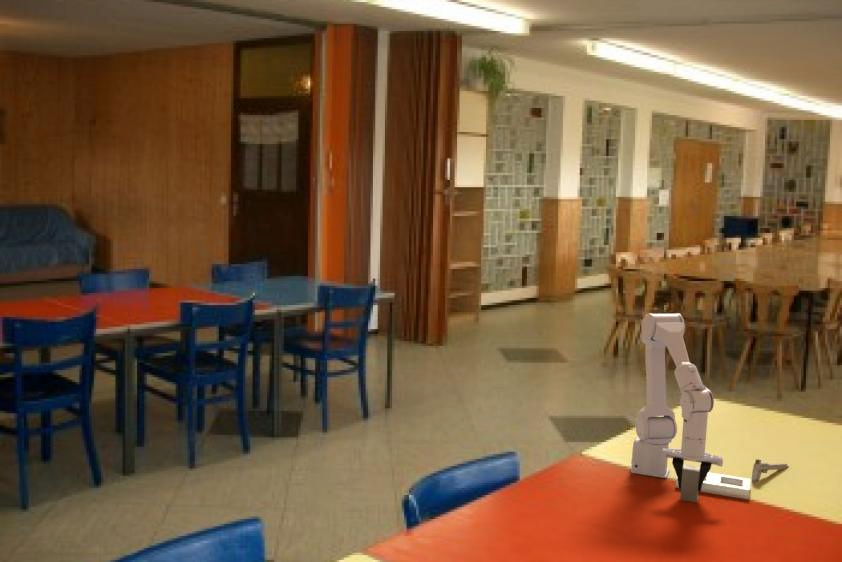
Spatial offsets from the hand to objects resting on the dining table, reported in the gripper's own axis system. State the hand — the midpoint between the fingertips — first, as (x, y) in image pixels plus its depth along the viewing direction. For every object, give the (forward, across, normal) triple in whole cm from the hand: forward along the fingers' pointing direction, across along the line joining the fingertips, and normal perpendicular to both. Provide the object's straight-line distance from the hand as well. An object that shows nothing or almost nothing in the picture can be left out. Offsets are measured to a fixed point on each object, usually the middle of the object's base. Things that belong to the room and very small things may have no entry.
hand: (689, 488), depth 223 cm
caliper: (+3, +19, +30) cm, 36 cm away
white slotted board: (+3, +5, +11) cm, 12 cm away
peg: (+3, 0, 0) cm, 3 cm away
